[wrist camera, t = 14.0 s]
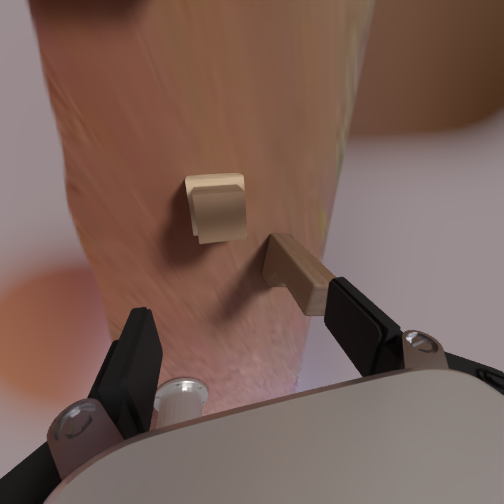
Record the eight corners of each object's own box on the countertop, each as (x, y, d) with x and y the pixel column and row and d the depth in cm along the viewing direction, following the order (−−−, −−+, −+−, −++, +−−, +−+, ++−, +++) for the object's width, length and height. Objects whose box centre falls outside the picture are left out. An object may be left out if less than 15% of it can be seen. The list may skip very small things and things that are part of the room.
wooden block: (281, 276, 46) (325, 344, 30) (260, 275, 45) (295, 345, 29) (292, 234, 42) (348, 286, 26) (269, 232, 41) (314, 285, 25)
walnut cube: (239, 224, 34) (246, 238, 29) (199, 228, 33) (199, 244, 28) (237, 184, 31) (244, 191, 26) (193, 187, 30) (192, 194, 25)
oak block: (241, 221, 39) (246, 230, 35) (194, 225, 38) (193, 235, 33) (238, 172, 36) (243, 176, 31) (186, 175, 34) (184, 179, 30)
